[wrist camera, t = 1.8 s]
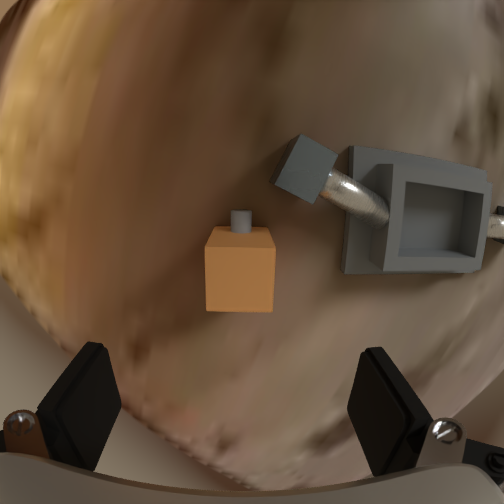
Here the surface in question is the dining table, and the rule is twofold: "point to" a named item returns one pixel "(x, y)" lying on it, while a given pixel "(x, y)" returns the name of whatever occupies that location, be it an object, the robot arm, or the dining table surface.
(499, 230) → the straight shaft
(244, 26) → the dining table surface
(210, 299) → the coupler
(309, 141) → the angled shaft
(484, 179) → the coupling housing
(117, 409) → the robot arm
